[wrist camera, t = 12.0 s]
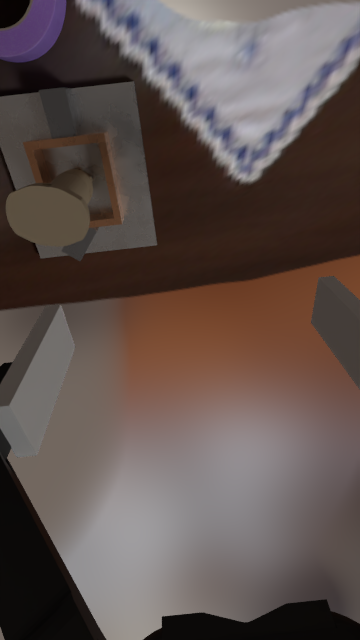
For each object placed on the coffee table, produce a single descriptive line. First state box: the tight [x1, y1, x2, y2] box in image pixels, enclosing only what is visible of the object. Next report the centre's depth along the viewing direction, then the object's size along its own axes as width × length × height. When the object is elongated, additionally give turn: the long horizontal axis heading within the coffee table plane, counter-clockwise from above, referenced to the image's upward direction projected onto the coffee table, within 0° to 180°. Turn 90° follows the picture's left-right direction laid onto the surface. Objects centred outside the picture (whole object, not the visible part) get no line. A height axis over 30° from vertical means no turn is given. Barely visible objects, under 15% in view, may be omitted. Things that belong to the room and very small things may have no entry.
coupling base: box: [0, 81, 157, 261], centre depth 38 cm, size 18×16×4 cm
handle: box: [6, 168, 93, 247], centre depth 32 cm, size 5×6×15 cm
